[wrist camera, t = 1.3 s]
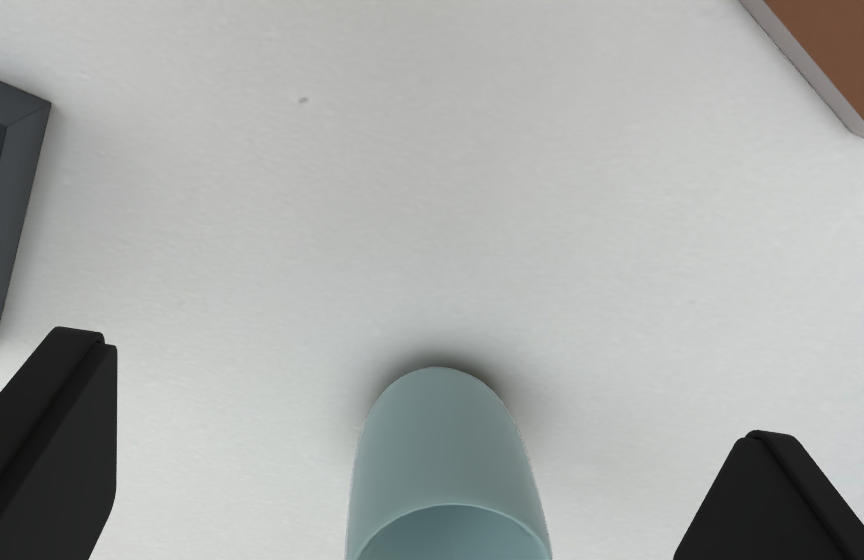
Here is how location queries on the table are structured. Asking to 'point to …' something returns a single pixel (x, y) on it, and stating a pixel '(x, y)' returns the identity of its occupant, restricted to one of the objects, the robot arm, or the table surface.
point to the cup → (443, 476)
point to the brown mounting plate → (821, 48)
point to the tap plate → (17, 168)
